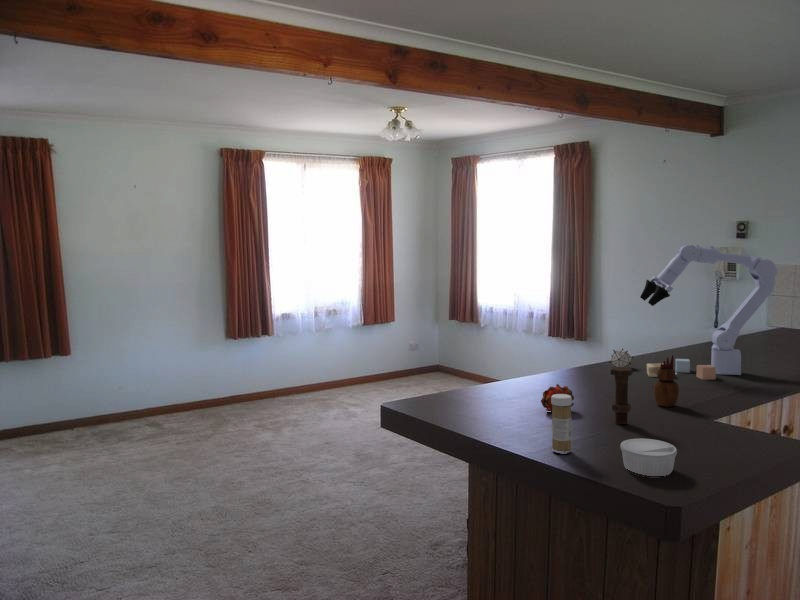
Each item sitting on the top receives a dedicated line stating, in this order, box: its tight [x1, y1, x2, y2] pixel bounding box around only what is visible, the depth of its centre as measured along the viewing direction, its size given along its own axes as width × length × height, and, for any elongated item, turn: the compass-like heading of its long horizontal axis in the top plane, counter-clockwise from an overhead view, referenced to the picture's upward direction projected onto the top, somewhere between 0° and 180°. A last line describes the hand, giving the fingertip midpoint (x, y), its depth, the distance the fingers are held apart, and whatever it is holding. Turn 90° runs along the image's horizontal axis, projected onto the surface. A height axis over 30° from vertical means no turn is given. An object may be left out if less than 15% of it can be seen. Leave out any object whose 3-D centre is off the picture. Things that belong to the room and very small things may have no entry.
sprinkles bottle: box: [551, 394, 573, 452], centre depth 145 cm, size 5×5×13 cm
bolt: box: [610, 366, 633, 425], centre depth 167 cm, size 6×5×15 cm
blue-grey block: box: [674, 358, 691, 374], centre depth 230 cm, size 4×4×5 cm
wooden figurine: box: [653, 355, 680, 408], centre depth 184 cm, size 7×6×15 cm
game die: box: [607, 348, 635, 368], centre depth 238 cm, size 9×8×10 cm
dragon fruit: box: [540, 383, 575, 412], centre depth 181 cm, size 8×8×12 cm
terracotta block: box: [696, 364, 717, 380], centre depth 217 cm, size 4×4×5 cm
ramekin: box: [620, 437, 678, 477], centre depth 133 cm, size 11×11×5 cm
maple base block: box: [646, 362, 663, 378], centre depth 224 cm, size 7×7×4 cm
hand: (646, 301), depth 232 cm, fingers open, 7 cm apart
